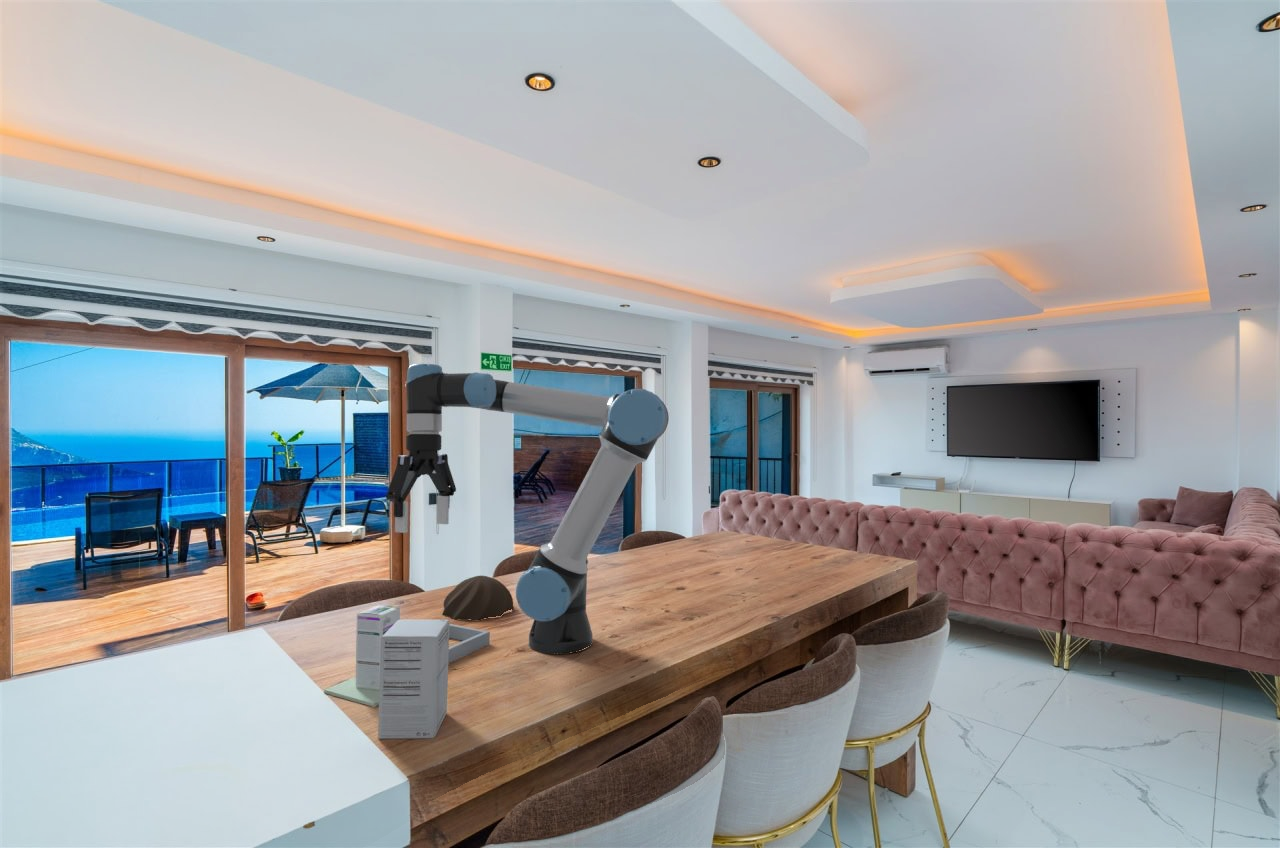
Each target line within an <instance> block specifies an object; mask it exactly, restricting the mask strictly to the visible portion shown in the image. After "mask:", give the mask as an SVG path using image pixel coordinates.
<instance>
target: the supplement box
mask: <svg viewBox="0 0 1280 848" xmlns="http://www.w3.org/2000/svg"><path fill="white" fill-rule="evenodd" d="M450 624H451V623H450V619H414V618H413V619H409V618H406V619H400V620H398V621H397V622H396V623H395V624H394V625H393V626H392V627H391V628H390V629H389V630H388V631H387V632H386V633H385V634H384V635H383V636H382V637H381V656H380V691H379V705H378V724H377V725H378V728H377V729H378V730H377V731H378V732H377V733H378V734H377V739H378V740H380V739H381V740H385V739H387V740H389V739H390V740H392V739H393V740H394V739H396V740H397V739H402V740H403V739H434V738H435V737H436V736H437V733H438V732H439V730H440V727H441V725H442V723H443V721H444V720H445V717H446V715H447V713H448V712H447V711H448V687H449V685H448V683H449V681H448V680H449V663H448V654H449V647H450V646H449V645H450V638H449V625H450Z"/></svg>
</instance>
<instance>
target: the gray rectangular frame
mask: <svg viewBox="0 0 1280 848" xmlns="http://www.w3.org/2000/svg"><path fill="white" fill-rule="evenodd" d="M490 633H491V632H490V631H489V630H484V629H479V628H478V629H477V628H473V627H468V626H463V625H459V624H458V625H457V624H452V623H450V625H449V639H452V640H458V641H460V642H458V643H455V644H453V645H451V646H449V654H448V664H450V663H452V662H454V661H457V660H459V659H461V658H464V657H465V656H467V655H469V654H472V653H474V652H476V651H477V650H480V649H482V648H484V647H486V646H489V645H490V641H491V640H490V636H491V635H490Z"/></svg>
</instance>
